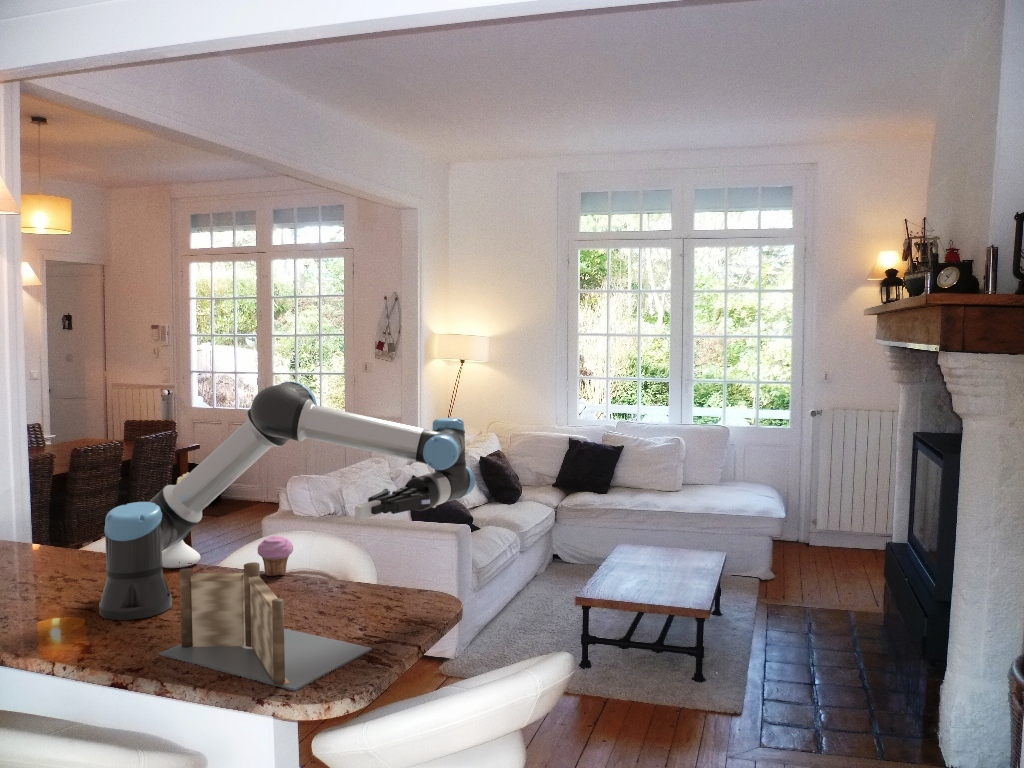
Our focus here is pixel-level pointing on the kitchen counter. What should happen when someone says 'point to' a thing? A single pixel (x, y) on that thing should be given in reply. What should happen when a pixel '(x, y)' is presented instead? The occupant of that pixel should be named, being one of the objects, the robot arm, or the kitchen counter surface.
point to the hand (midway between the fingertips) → (357, 513)
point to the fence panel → (267, 628)
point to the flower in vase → (179, 551)
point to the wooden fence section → (216, 607)
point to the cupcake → (275, 554)
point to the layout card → (302, 658)
